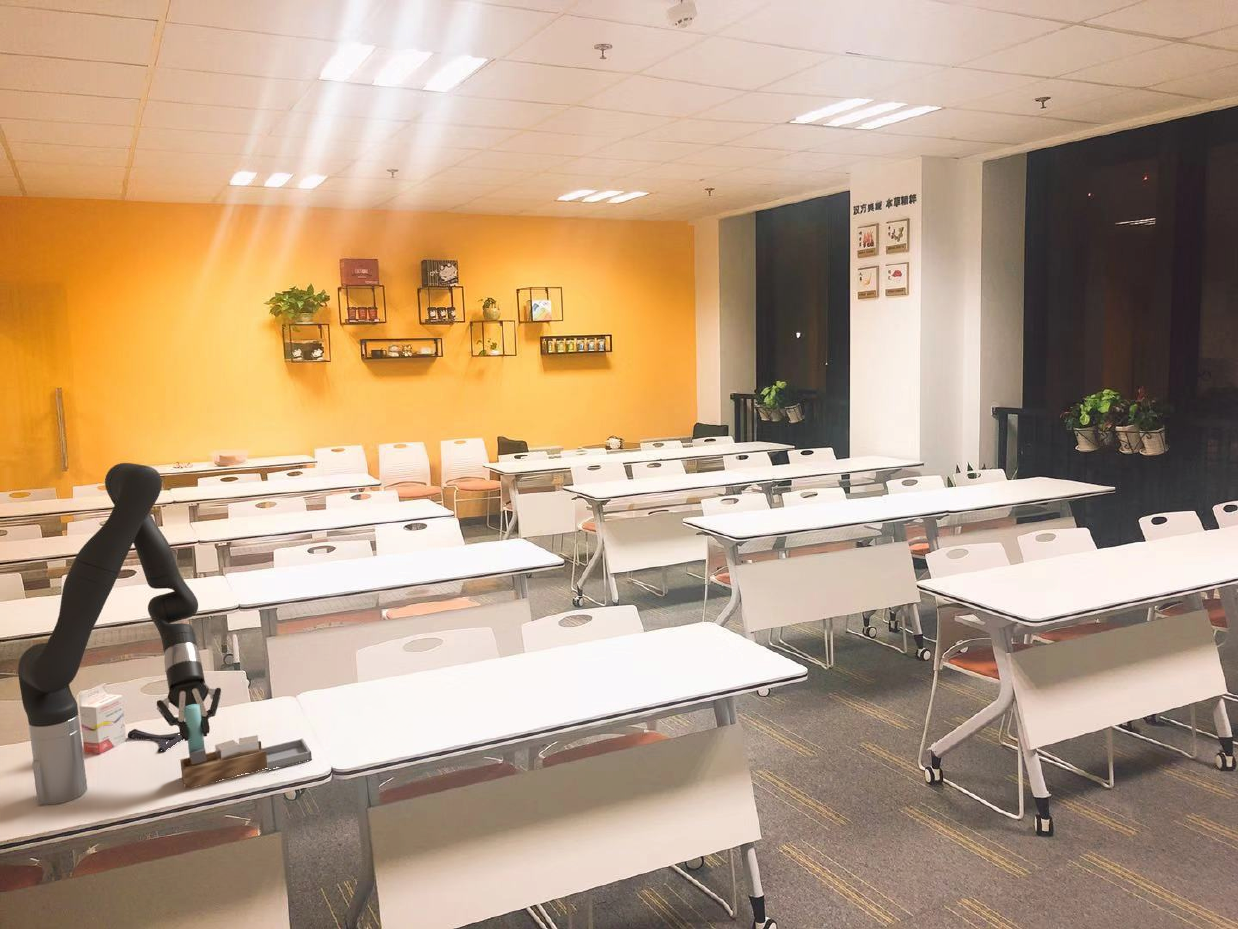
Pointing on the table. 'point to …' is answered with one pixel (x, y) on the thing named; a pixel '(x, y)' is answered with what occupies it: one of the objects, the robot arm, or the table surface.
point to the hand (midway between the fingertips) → (196, 737)
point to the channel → (220, 768)
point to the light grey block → (227, 750)
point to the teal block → (195, 733)
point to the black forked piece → (156, 738)
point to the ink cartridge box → (101, 720)
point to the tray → (287, 754)
